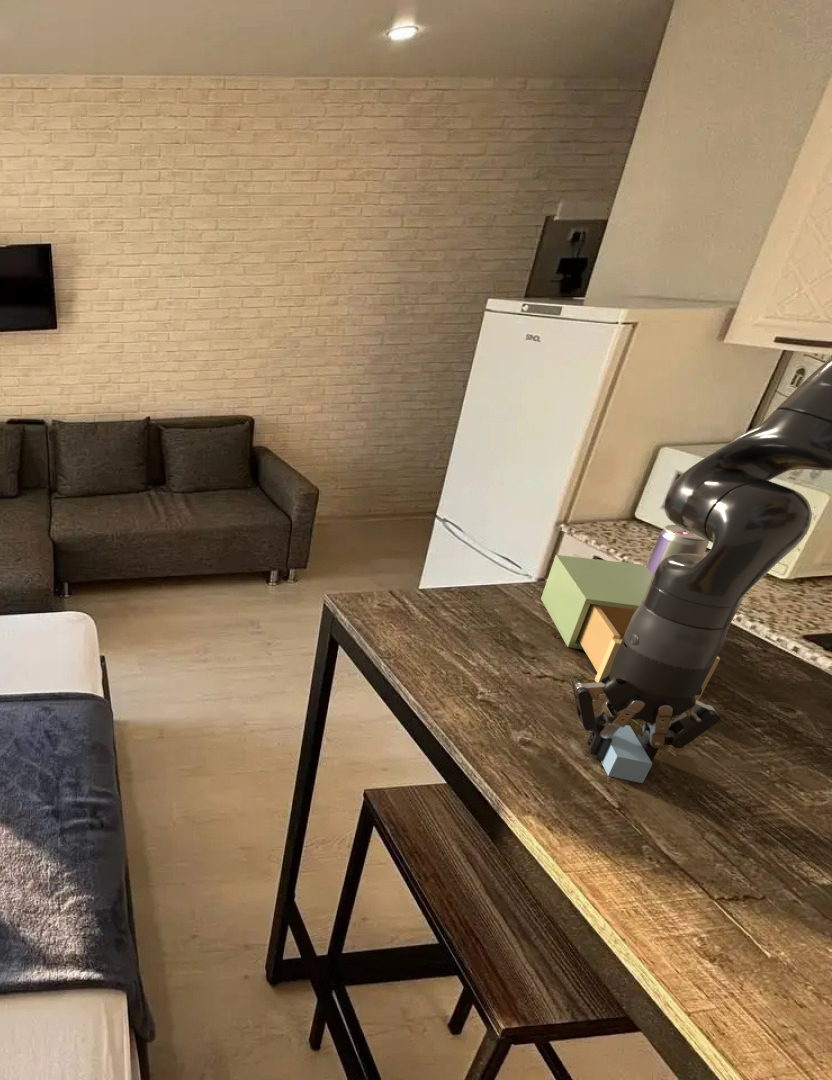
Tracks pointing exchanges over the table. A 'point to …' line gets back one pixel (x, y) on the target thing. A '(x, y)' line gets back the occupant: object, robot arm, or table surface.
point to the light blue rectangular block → (626, 757)
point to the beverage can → (675, 545)
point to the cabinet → (590, 590)
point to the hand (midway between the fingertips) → (615, 758)
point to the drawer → (611, 638)
